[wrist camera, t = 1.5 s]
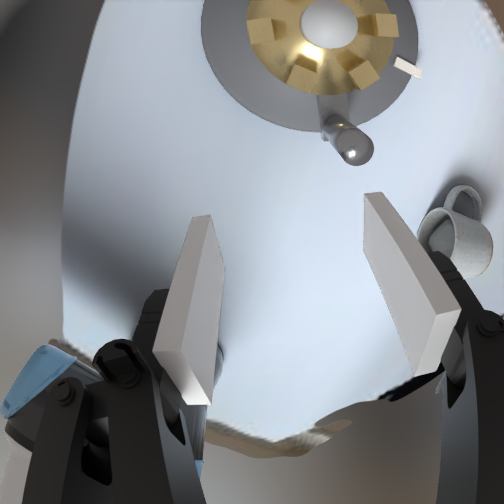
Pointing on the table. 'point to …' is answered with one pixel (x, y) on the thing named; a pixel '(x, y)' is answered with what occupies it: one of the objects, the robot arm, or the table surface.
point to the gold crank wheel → (325, 63)
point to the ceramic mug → (458, 234)
